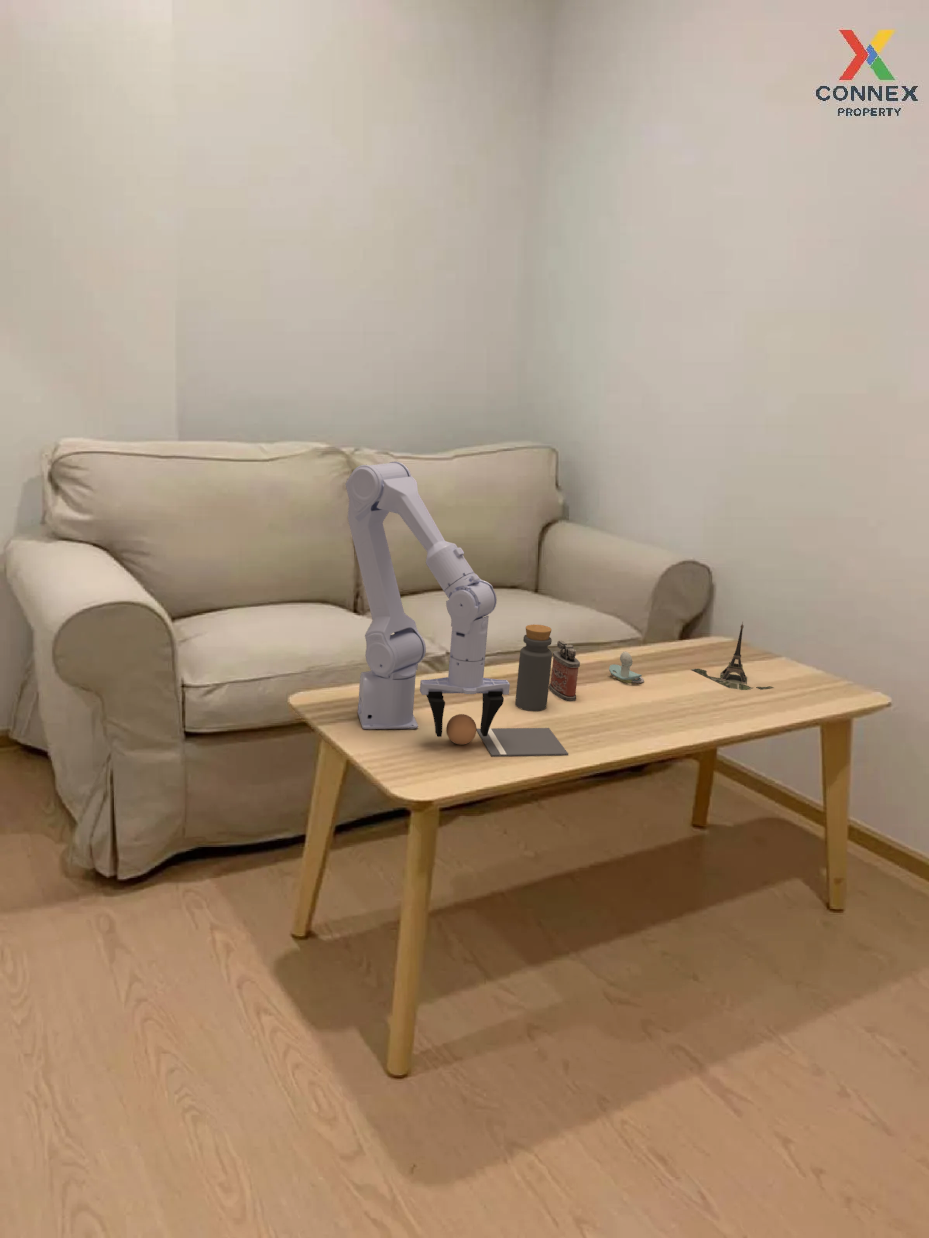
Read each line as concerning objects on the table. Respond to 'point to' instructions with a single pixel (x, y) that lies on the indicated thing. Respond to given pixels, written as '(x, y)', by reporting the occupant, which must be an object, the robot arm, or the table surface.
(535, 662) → the bottle
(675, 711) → the table surface
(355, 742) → the table surface
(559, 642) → the lighter
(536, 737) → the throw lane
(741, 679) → the eiffel tower figurine
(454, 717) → the ball
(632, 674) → the pacifier
